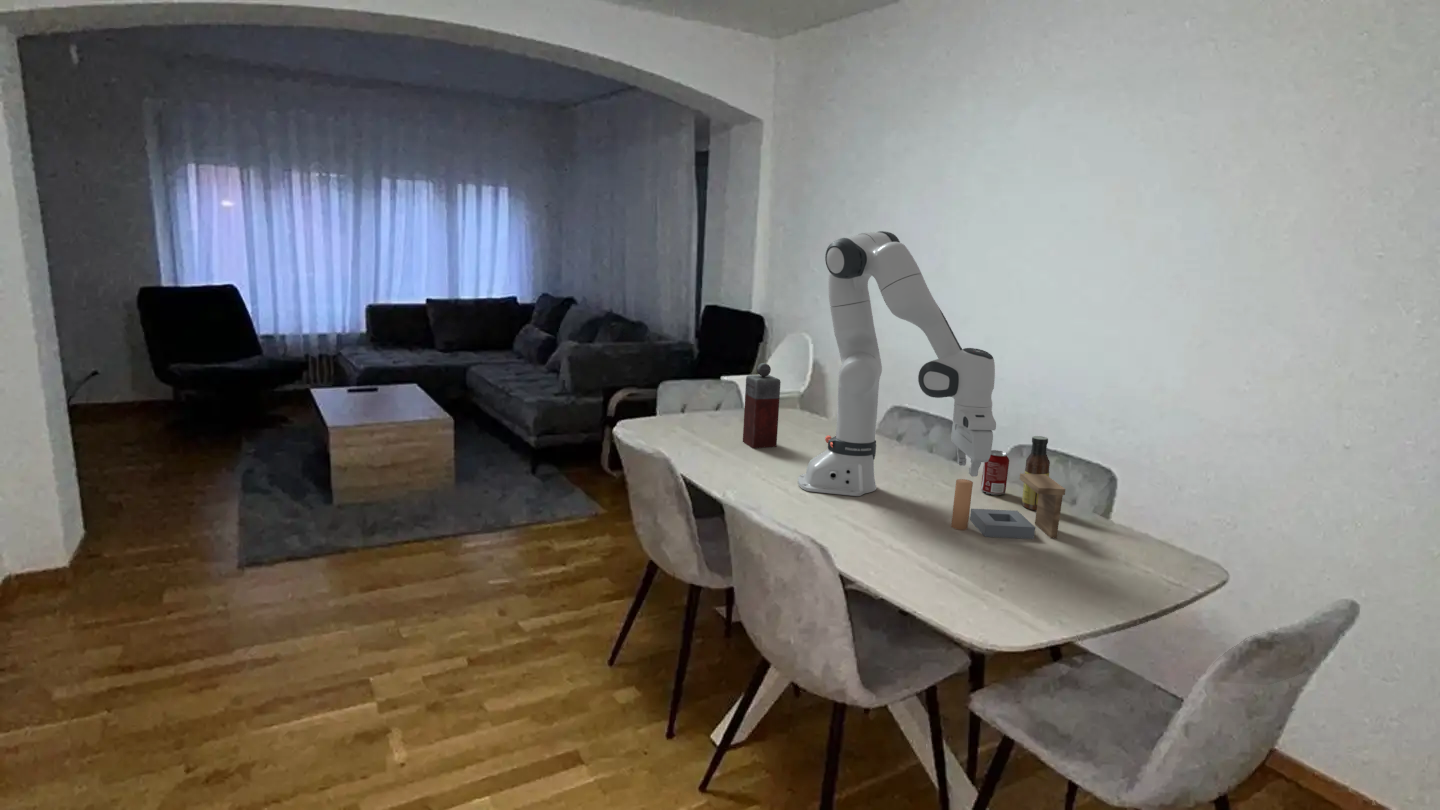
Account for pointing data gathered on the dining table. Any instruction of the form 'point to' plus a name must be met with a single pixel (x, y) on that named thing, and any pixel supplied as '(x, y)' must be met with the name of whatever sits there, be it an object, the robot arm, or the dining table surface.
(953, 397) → the robot arm
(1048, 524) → the wooden l-shaped bracket
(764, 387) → the red grey knobbed box
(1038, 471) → the sauce bottle
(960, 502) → the peg
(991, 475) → the soda can
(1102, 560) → the dining table surface
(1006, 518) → the socket
